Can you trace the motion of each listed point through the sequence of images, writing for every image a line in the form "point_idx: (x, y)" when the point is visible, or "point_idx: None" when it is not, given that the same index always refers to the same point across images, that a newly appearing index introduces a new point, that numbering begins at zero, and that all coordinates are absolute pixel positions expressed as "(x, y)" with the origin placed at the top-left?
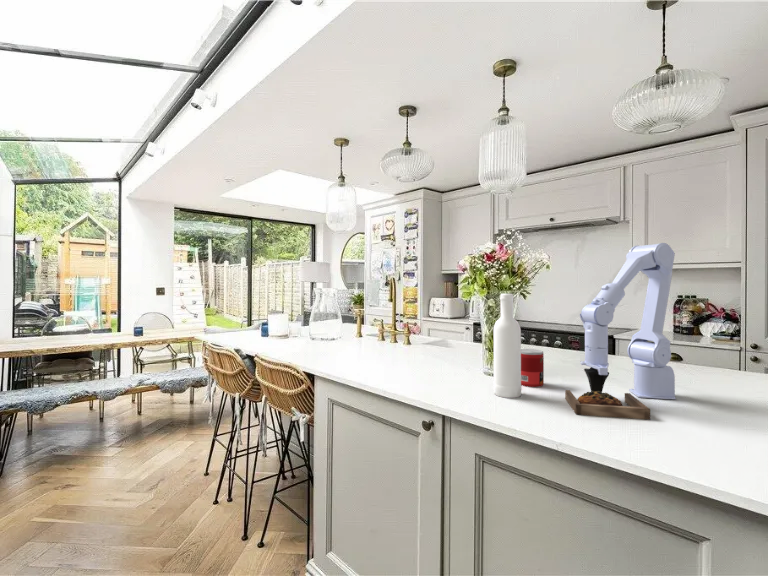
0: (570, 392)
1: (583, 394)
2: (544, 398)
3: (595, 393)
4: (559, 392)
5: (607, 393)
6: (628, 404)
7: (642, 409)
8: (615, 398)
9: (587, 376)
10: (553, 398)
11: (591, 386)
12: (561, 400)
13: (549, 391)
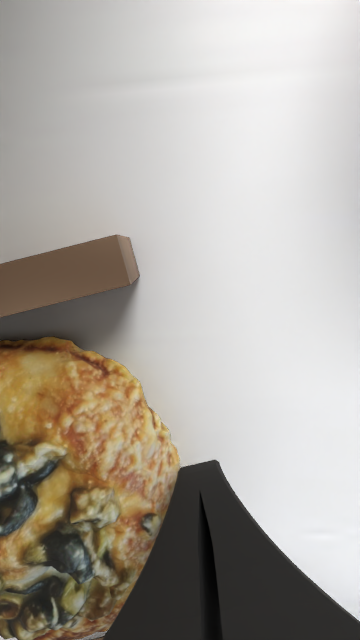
0: (24, 298)
1: (68, 414)
2: (36, 36)
3: None
4: (336, 171)
5: (29, 631)
6: None
7: None
8: (56, 633)
9: (281, 594)
10: (84, 130)
11: (160, 529)
12: (52, 209)
13: (342, 64)
